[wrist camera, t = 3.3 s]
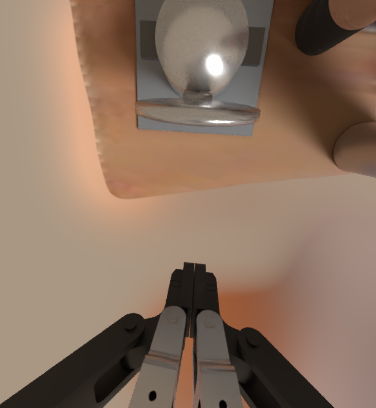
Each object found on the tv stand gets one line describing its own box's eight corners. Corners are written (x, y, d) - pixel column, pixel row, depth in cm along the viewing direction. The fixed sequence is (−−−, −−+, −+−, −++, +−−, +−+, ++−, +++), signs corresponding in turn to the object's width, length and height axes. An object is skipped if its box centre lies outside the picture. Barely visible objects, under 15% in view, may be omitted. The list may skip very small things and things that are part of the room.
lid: (283, 112, 14) (273, 143, 16) (245, 96, 26) (241, 115, 27) (113, 101, 15) (118, 133, 16) (150, 90, 26) (151, 109, 28)
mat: (275, -13, 29) (276, -16, 29) (251, 136, 37) (251, 136, 36) (135, -22, 30) (134, -24, 29) (138, 129, 37) (138, 128, 36)
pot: (252, 24, 31) (275, -20, 22) (240, 111, 35) (255, 102, 26) (152, 18, 31) (136, -28, 22) (152, 106, 35) (139, 95, 26)
